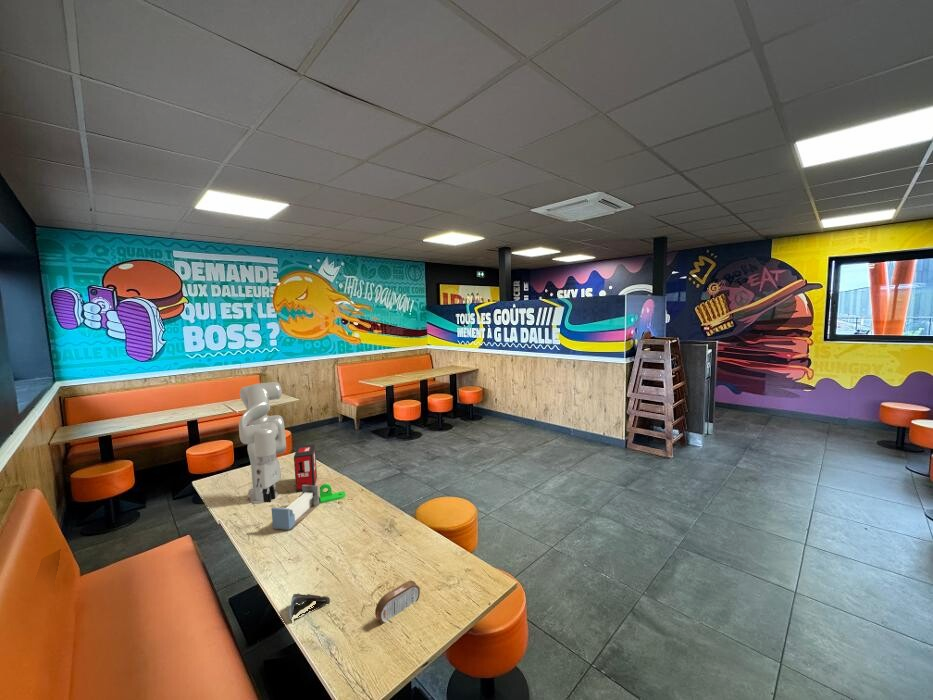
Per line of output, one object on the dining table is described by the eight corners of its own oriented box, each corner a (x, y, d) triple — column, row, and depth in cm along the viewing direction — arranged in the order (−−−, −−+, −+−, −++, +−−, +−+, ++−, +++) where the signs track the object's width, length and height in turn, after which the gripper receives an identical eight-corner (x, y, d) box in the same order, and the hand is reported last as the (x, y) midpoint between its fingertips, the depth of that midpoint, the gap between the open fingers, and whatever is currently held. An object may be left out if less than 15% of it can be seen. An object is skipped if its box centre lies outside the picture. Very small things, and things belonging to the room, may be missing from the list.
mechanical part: (320, 505, 184) (319, 489, 183) (320, 499, 190) (319, 484, 189) (346, 499, 189) (345, 484, 188) (344, 494, 195) (343, 479, 194)
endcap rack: (272, 529, 163) (271, 508, 162) (304, 503, 186) (302, 484, 185) (291, 531, 162) (289, 509, 161) (320, 504, 184) (319, 485, 183)
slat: (285, 521, 168) (284, 509, 167) (306, 503, 183) (305, 492, 183) (293, 522, 167) (292, 509, 167) (313, 504, 183) (312, 492, 182)
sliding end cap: (272, 528, 163) (271, 508, 162) (278, 523, 167) (277, 503, 166) (289, 529, 161) (288, 509, 160) (295, 524, 165) (293, 505, 164)
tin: (416, 598, 122) (415, 574, 122) (421, 603, 120) (421, 579, 119) (375, 624, 112) (373, 599, 111) (380, 631, 110) (379, 605, 109)
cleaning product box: (314, 490, 199) (312, 454, 197) (296, 493, 197) (293, 456, 195) (317, 477, 215) (314, 444, 213) (300, 480, 212) (297, 446, 210)
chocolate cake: (326, 591, 125) (295, 577, 121) (332, 598, 120) (300, 584, 116) (309, 623, 121) (276, 610, 117) (314, 632, 115) (280, 618, 111)
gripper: (260, 466, 145) (264, 511, 147) (286, 451, 160) (289, 492, 162) (243, 465, 146) (247, 509, 148) (271, 450, 162) (274, 490, 163)
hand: (269, 500), depth 155 cm, fingers closed
